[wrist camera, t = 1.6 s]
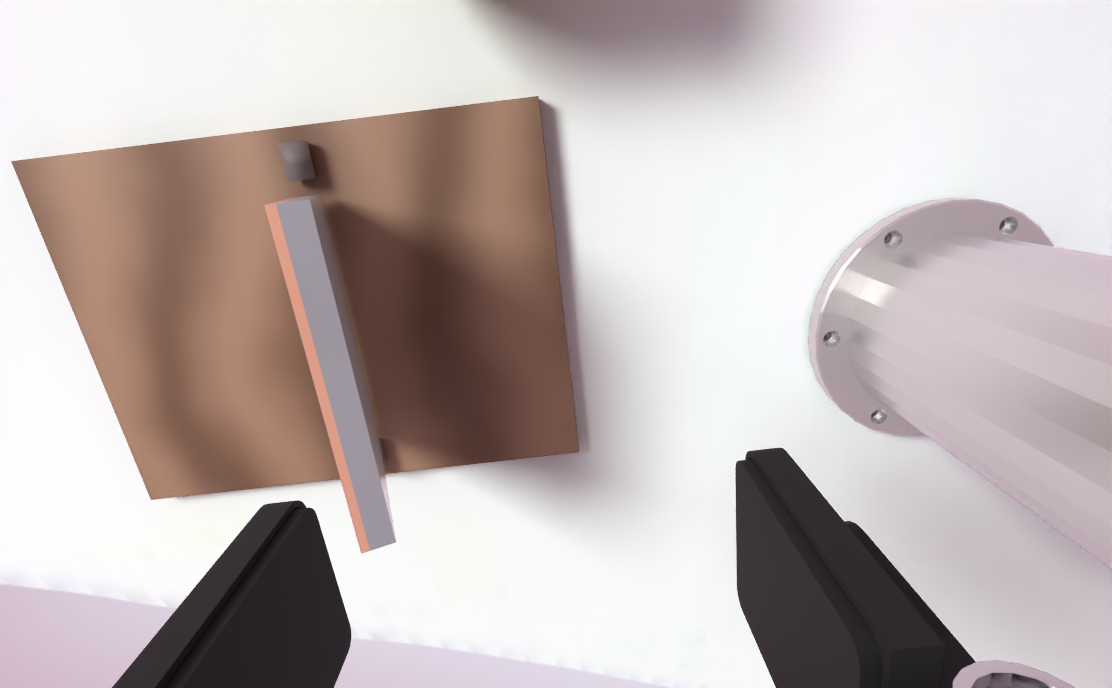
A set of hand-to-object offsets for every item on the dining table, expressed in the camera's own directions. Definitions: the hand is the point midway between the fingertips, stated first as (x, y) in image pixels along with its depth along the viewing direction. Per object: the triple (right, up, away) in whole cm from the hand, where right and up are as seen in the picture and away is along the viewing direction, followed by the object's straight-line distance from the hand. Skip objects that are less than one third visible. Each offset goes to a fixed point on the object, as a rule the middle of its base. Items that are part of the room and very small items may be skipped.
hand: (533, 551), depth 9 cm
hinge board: (-11, +5, +19) cm, 23 cm away
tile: (-8, +3, +13) cm, 15 cm away
